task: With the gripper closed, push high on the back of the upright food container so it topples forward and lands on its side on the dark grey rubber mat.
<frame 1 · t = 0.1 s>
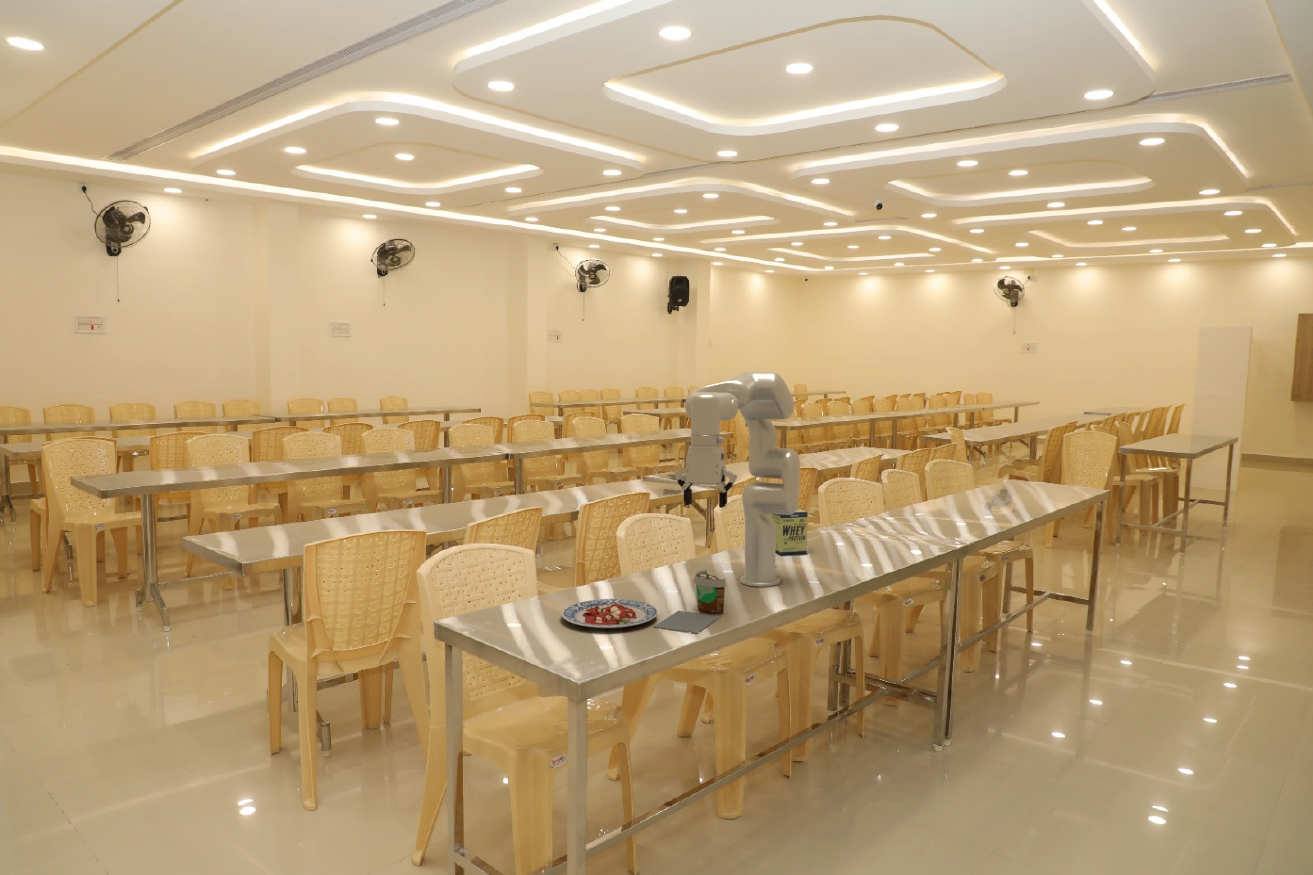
hand: (705, 505, 225), 31 cm above the table, tool pointing down, fingers open, 9 cm apart
mat: (687, 622, 227), on the table
ceramic plate: (609, 620, 230), on the table
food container: (705, 611, 237), on the table
protein box: (786, 551, 313), on the table
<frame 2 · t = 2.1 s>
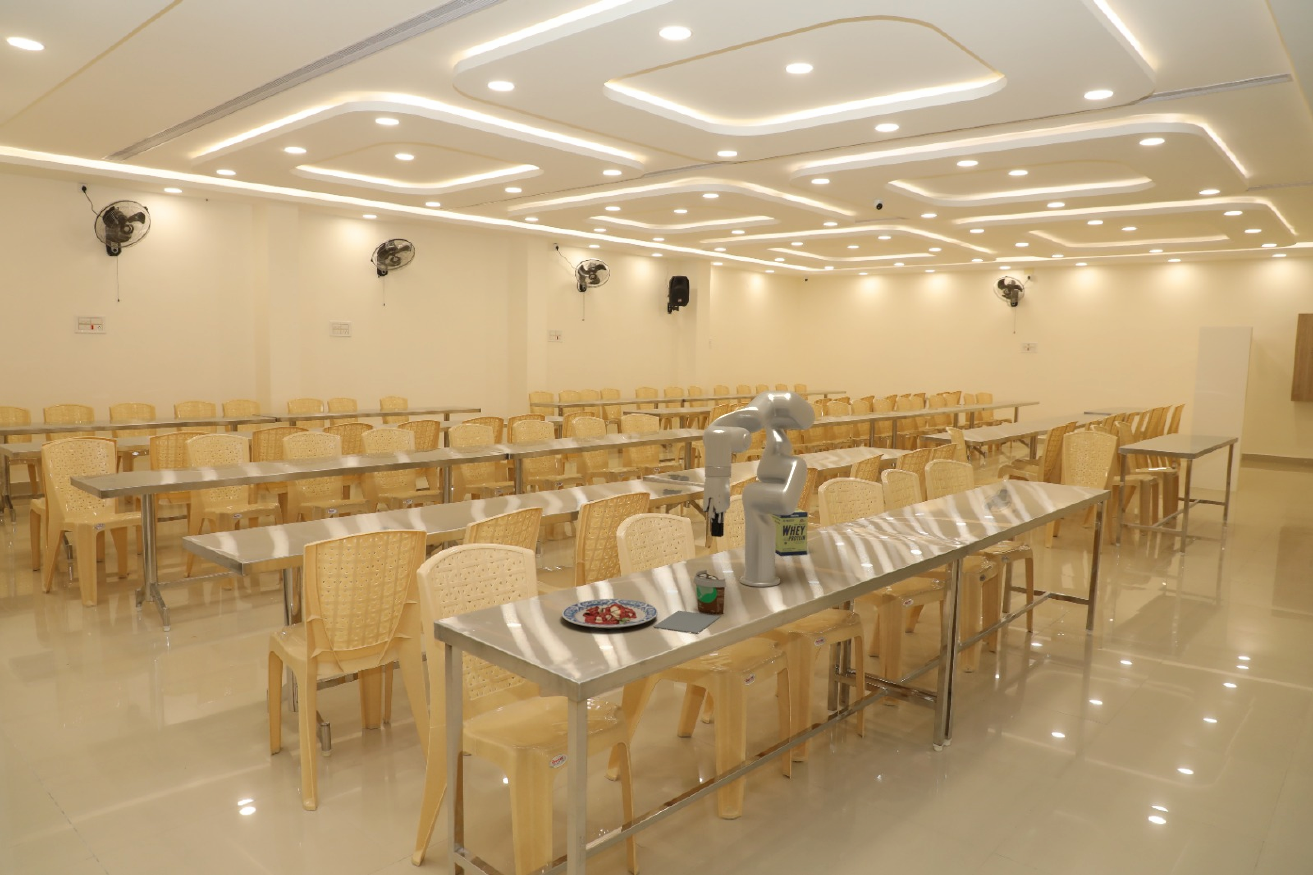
hand: (717, 536, 243), 19 cm above the table, tool pointing down, fingers closed
nothing on the table moved.
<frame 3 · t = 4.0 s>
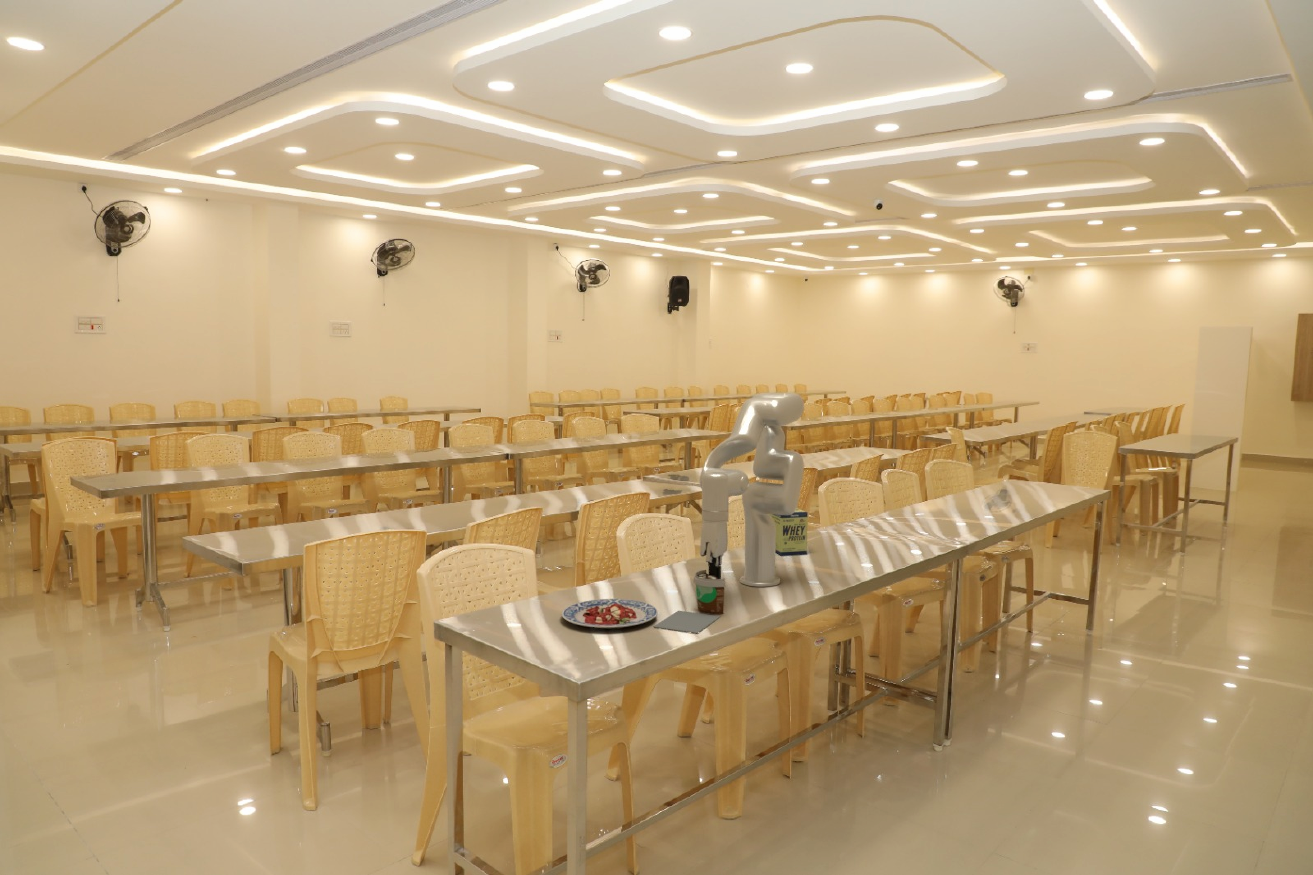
hand: (714, 579, 243), 7 cm above the table, tool pointing down, fingers closed
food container: (705, 611, 237), on the table, touching gripper
everything else where it was.
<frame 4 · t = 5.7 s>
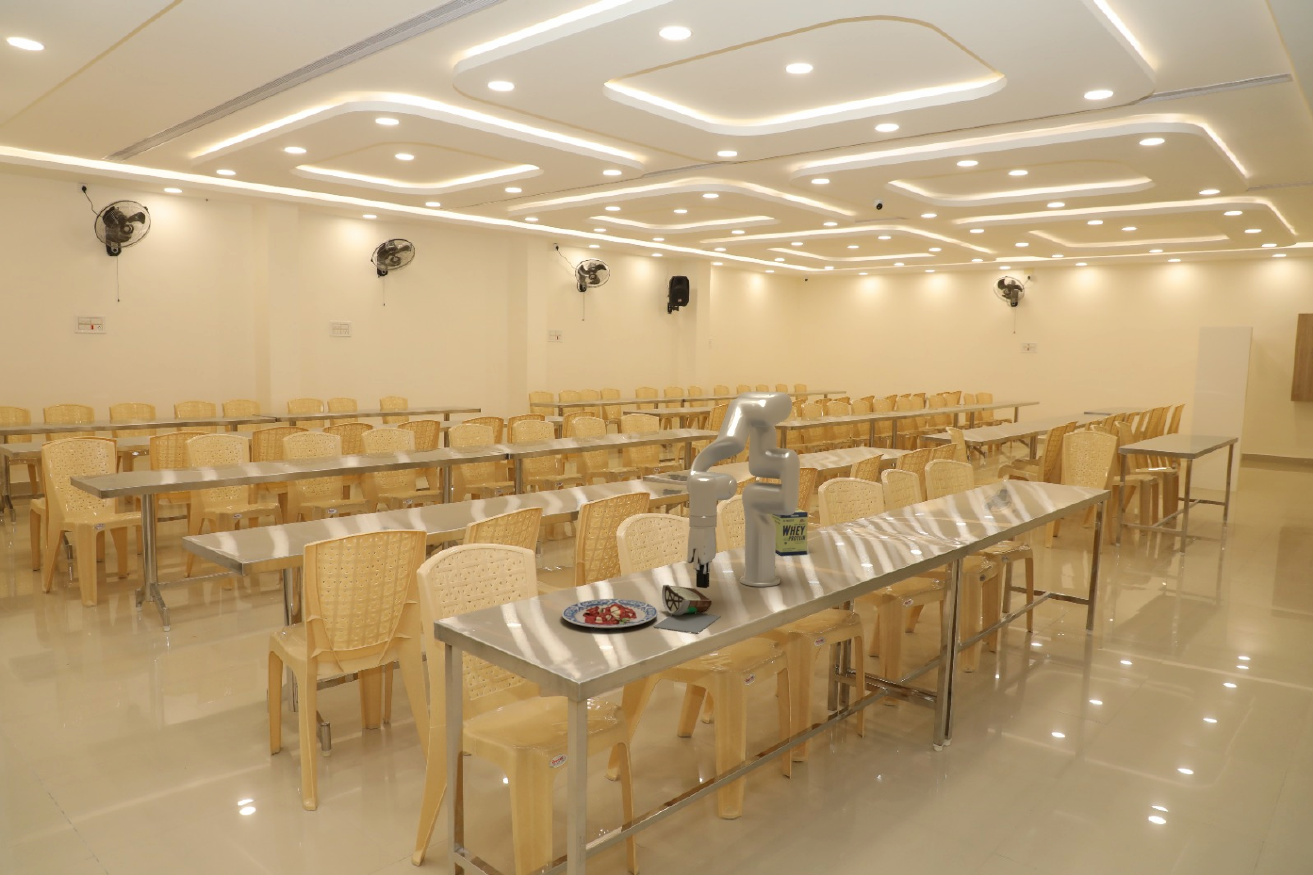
hand: (702, 587, 235), 7 cm above the table, tool pointing down, fingers closed
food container: (701, 604, 237), point 2 cm above the table, touching mat
everything else where it was.
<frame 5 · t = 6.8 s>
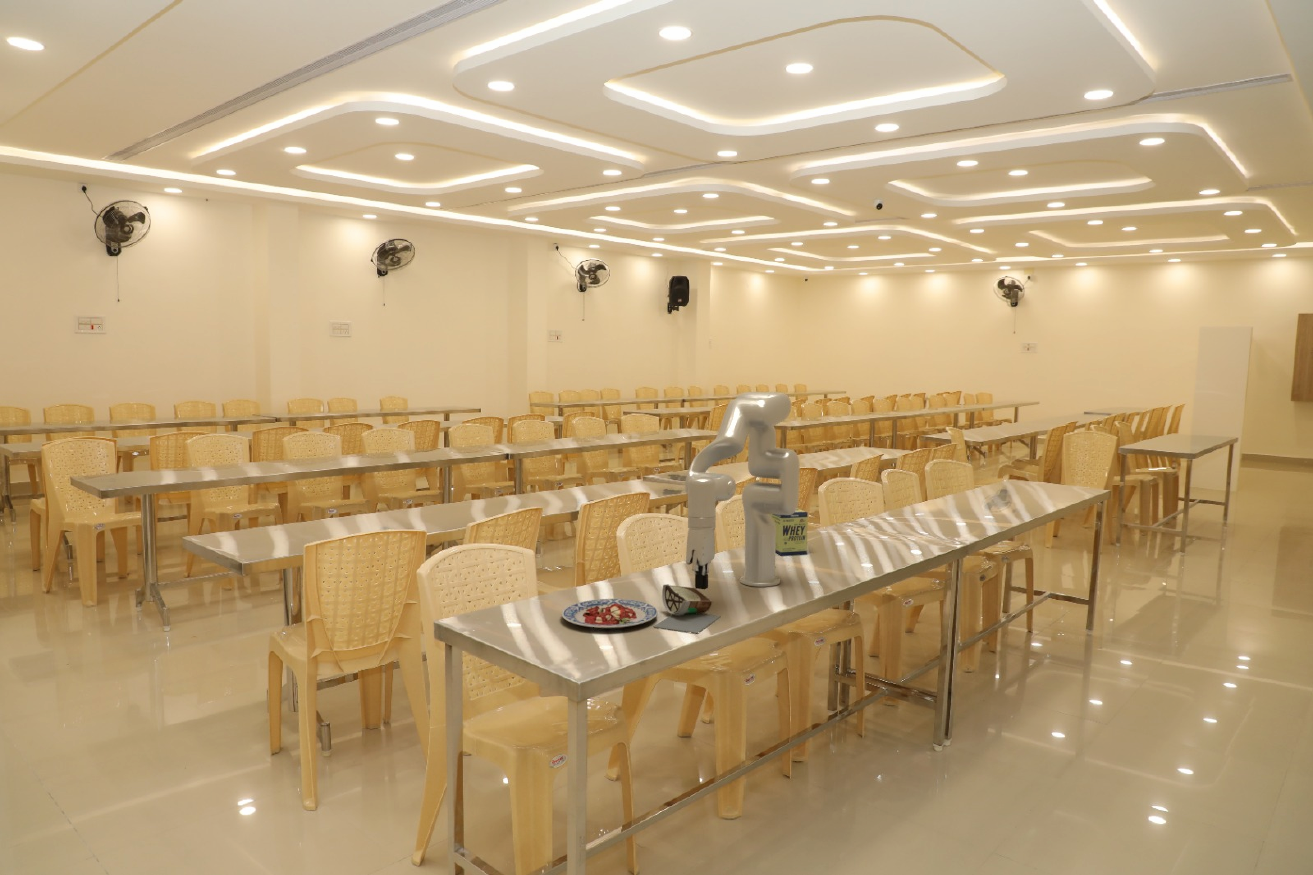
hand: (701, 588, 234), 7 cm above the table, tool pointing down, fingers closed
nothing on the table moved.
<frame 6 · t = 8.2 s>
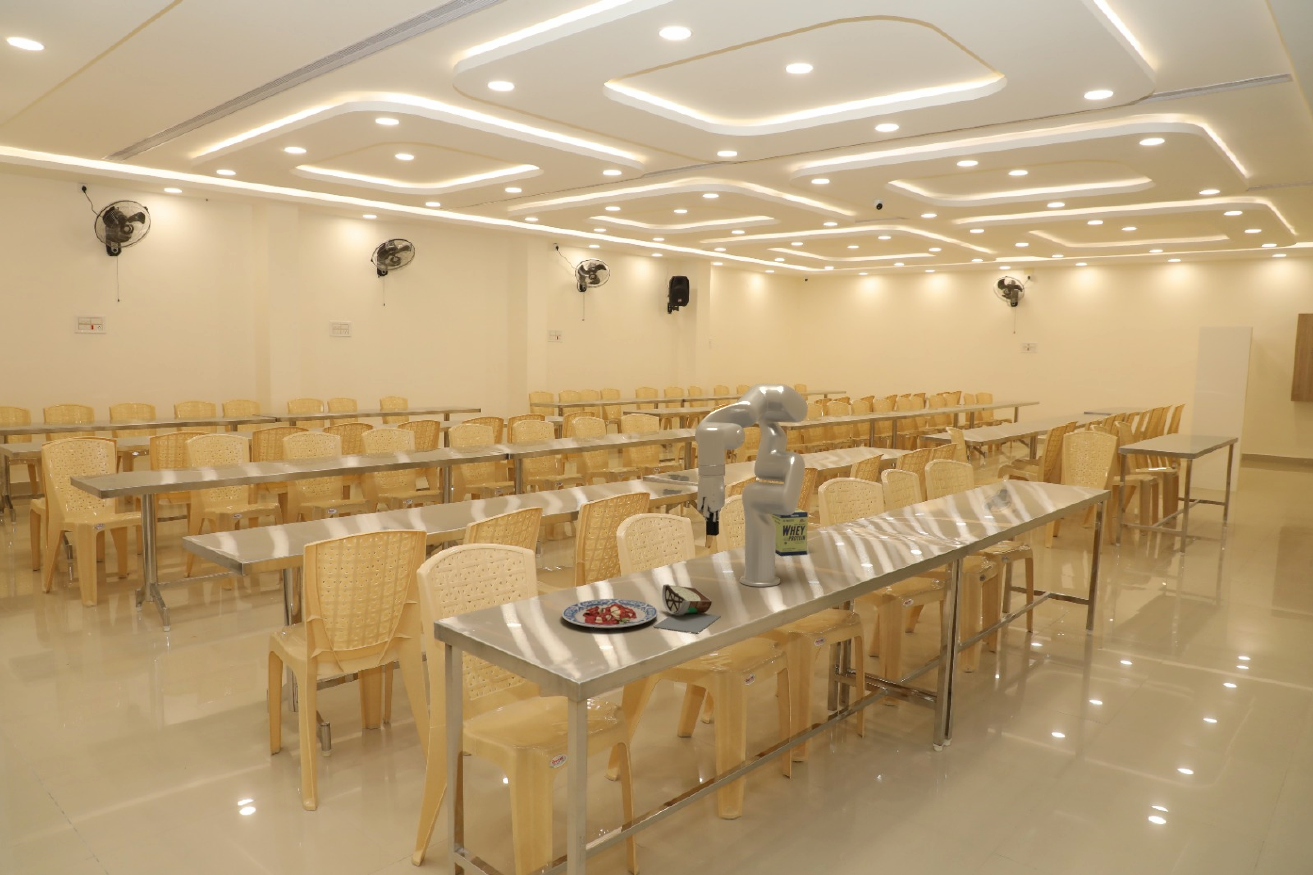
hand: (712, 534, 240), 21 cm above the table, tool pointing down, fingers closed
nothing on the table moved.
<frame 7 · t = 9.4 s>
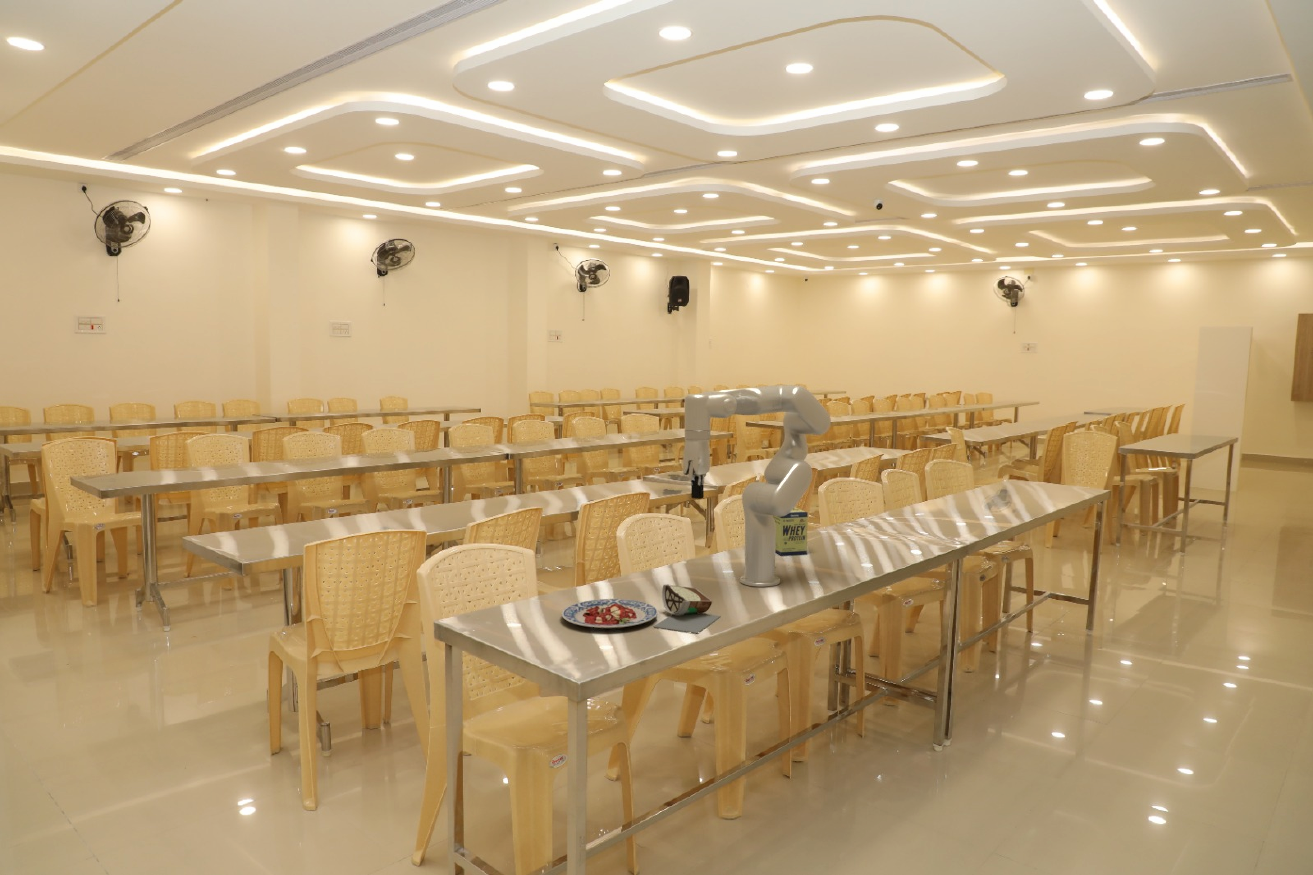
hand: (697, 498, 251), 29 cm above the table, tool pointing down, fingers closed
nothing on the table moved.
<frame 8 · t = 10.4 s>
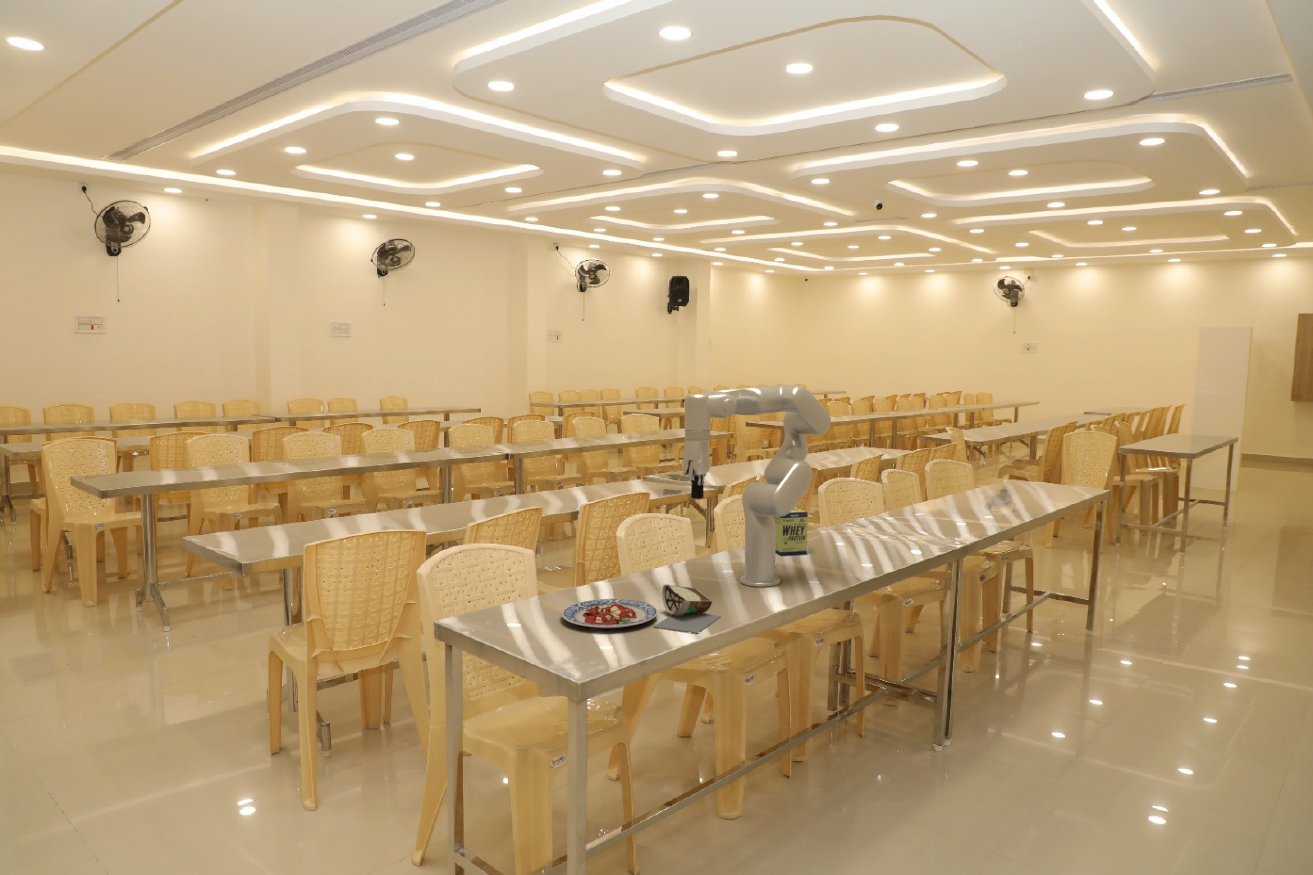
hand: (697, 498, 251), 29 cm above the table, tool pointing down, fingers closed
nothing on the table moved.
at the end: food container tilted 79°; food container inside the target area (10.3 cm from its centre), point 1.9 cm above the table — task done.
